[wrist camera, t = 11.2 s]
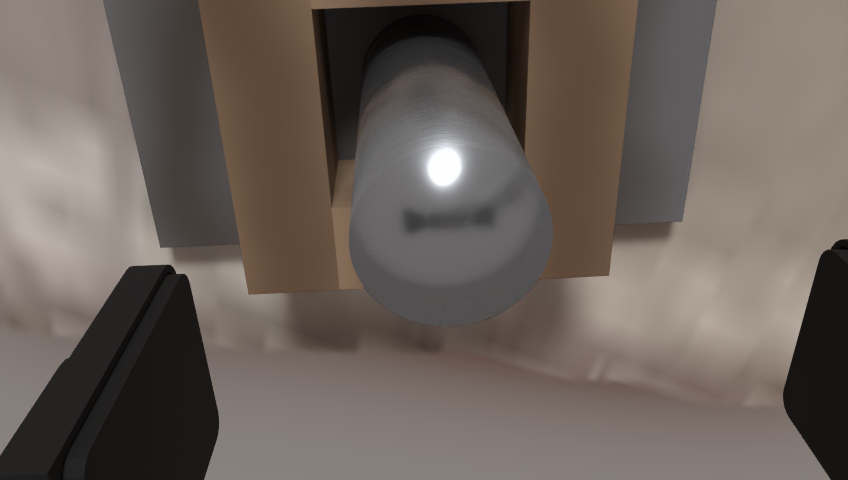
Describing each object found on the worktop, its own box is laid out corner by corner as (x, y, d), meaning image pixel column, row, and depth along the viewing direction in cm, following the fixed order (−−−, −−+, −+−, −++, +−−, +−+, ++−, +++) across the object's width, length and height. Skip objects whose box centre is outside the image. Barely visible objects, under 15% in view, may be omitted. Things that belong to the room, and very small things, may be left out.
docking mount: (725, -142, 23) (806, -141, 18) (672, 210, 29) (725, 274, 24) (87, -119, 22) (14, -113, 18) (167, 235, 28) (127, 306, 24)
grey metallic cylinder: (480, 12, 24) (560, 141, 13) (479, 127, 26) (547, 321, 15) (359, 16, 24) (340, 151, 13) (366, 132, 25) (356, 330, 15)
